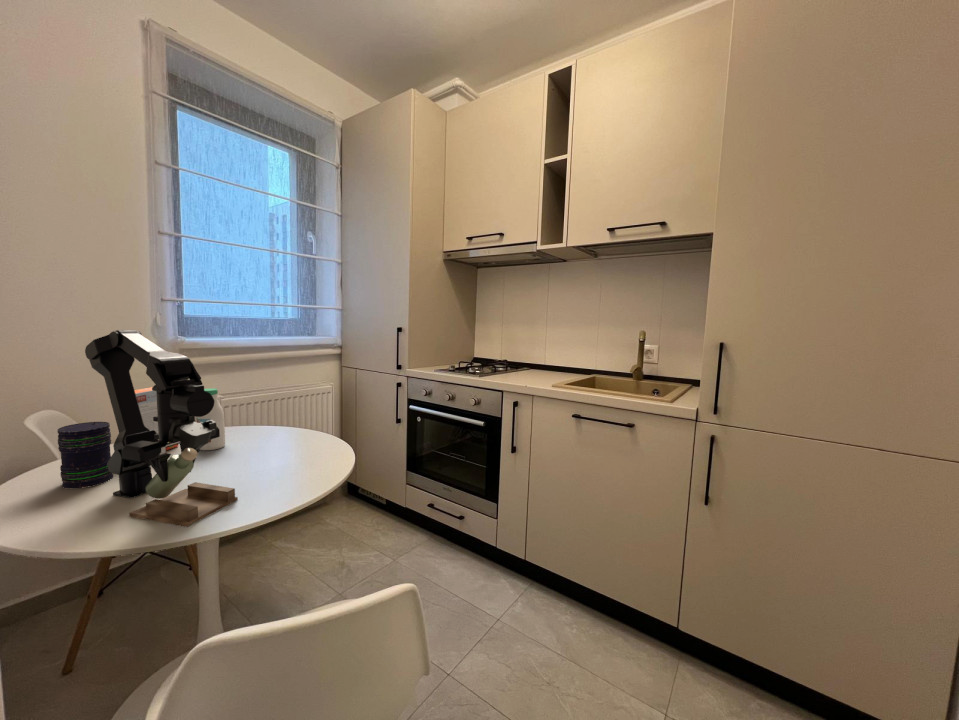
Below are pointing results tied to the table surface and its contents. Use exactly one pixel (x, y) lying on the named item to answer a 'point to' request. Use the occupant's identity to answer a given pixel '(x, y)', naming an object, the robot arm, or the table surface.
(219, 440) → the milk bottle
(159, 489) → the olive bottle
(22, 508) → the table surface
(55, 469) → the table surface
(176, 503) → the walnut U-rest
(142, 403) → the cracker box
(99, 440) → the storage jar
